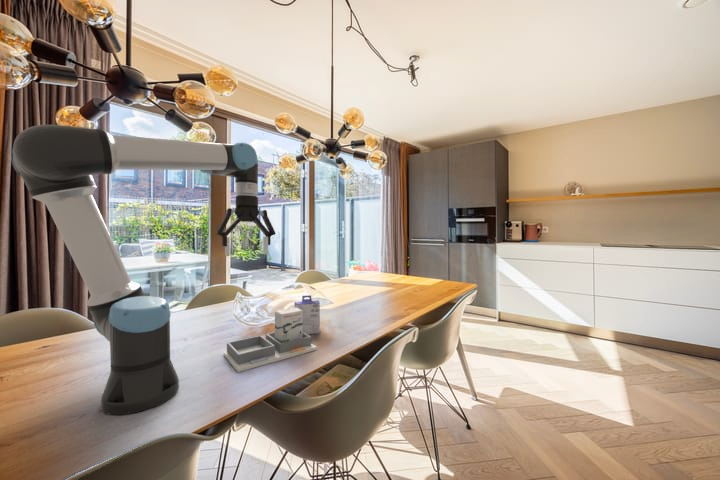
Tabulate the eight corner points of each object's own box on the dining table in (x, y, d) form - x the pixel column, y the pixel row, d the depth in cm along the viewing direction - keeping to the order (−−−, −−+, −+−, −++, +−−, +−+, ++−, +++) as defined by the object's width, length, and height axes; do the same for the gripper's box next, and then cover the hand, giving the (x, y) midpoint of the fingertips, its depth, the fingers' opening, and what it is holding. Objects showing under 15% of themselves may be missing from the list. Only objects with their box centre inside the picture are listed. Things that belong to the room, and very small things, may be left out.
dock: (237, 372, 85) (237, 358, 85) (223, 355, 97) (223, 342, 97) (316, 349, 101) (316, 337, 101) (296, 337, 113) (296, 326, 113)
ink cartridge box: (318, 329, 123) (318, 294, 122) (320, 333, 118) (320, 297, 117) (294, 331, 120) (294, 295, 120) (295, 335, 115) (294, 298, 114)
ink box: (281, 349, 99) (280, 314, 99) (274, 344, 103) (273, 311, 103) (303, 342, 105) (303, 309, 105) (296, 338, 109) (296, 306, 108)
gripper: (211, 191, 96) (212, 257, 96) (284, 197, 112) (284, 254, 112) (206, 193, 102) (206, 255, 102) (275, 199, 117) (276, 252, 118)
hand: (247, 255), depth 107 cm, fingers open, 13 cm apart
